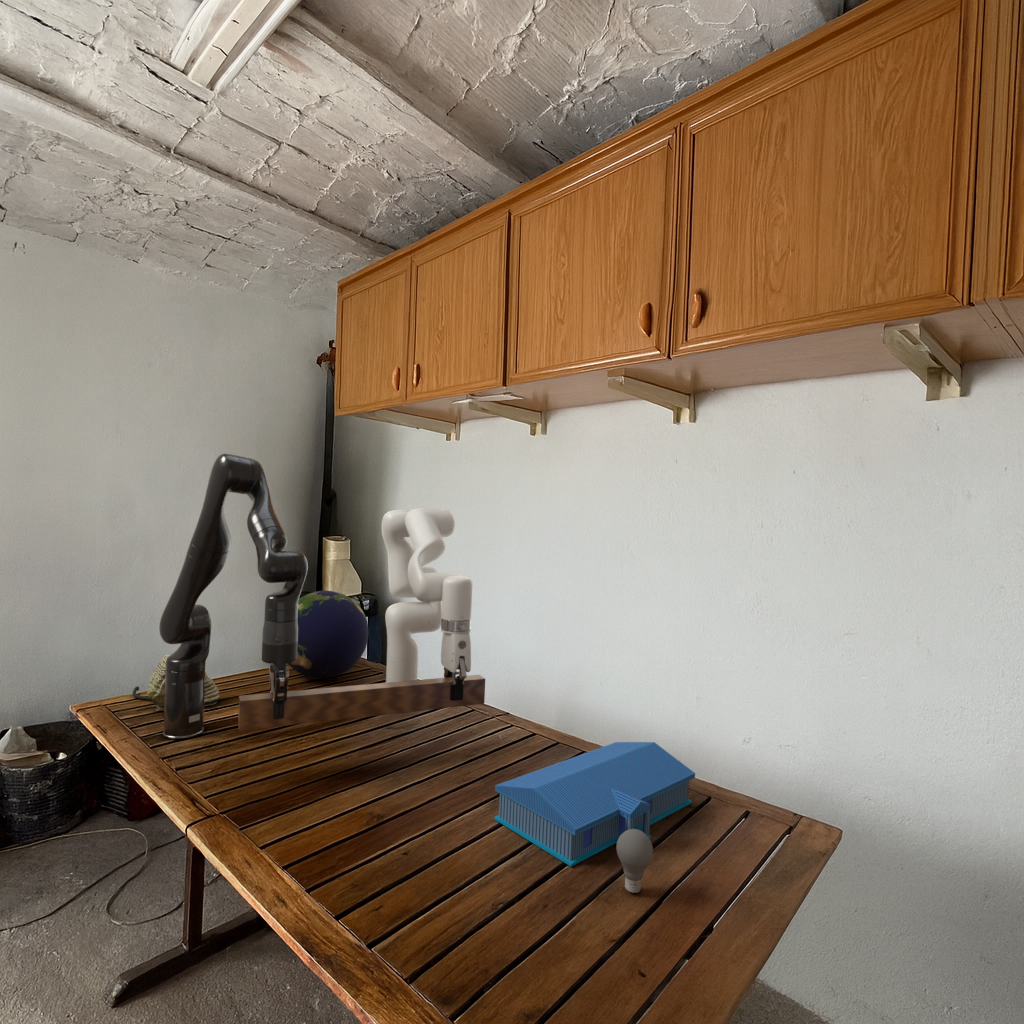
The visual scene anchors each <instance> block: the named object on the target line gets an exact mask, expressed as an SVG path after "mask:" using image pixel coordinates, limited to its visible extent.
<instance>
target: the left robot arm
mask: <svg viewBox="0 0 1024 1024" xmlns="http://www.w3.org/2000/svg"><path fill="white" fill-rule="evenodd" d="M211 467H212V468H211V471H210V475H209V478H208V482H207V485H206V491H205V496H204V500H203V504H202V506H201V512H200V514H199V517H198V519H197V523H196V526H195V529H194V532H193V534H192V537H191V540H190V542H189V545H188V548H187V551H186V555H185V558H184V561H183V563H182V567H181V570H180V572H179V575H178V578H177V581H176V583H175V586H174V587H173V590H172V593H171V595H170V597H169V598H168V601H167V603H166V605H165V608H164V609H163V611H162V613H161V617H160V619H159V625H158V626H159V629H158V630H159V636H160V638H161V640H162V641H163V642H164V643H166V644H168V645H179V647H178V648H177V649H176V650H175V651H174V652H173V653H170V654H169V655H170V656H169V657H168V658H167V660H166V674H165V705H164V710H163V731H162V737H164V738H166V739H169V740H185V739H190V738H191V739H192V738H194V737H197V736H199V735H202V734H203V732H204V730H205V729H204V722H205V721H204V718H205V706H204V693H205V672H206V664H207V663H206V662H207V659H208V657H209V653H210V647H211V636H212V617H211V614H210V612H209V610H208V609H207V607H206V606H205V605H202V604H196V603H197V602H198V600H199V598H200V596H201V595H202V594H203V592H204V591H205V590H206V589H207V588H208V587H209V586H210V584H211V583H213V581H214V580H215V579H216V578H217V577H218V576H219V574H220V573H221V572H222V571H223V569H224V566H225V564H226V562H227V559H228V556H229V553H230V550H231V548H232V547H231V546H232V536H231V533H230V529H229V526H228V524H227V520H226V517H225V509H224V508H225V502H226V498H227V495H228V493H235V494H240V495H247V497H248V498H249V500H250V501H251V503H252V505H251V507H250V510H249V513H248V515H247V518H246V526H247V530H248V533H249V535H250V537H251V540H252V542H253V544H254V546H255V551H256V558H257V562H256V563H257V564H256V565H257V573H258V576H259V578H260V579H261V580H263V581H264V582H265V583H268V584H279V583H284V584H283V586H282V588H281V589H280V590H278V591H274V592H271V593H269V594H268V595H266V597H265V600H264V620H263V626H262V641H261V661H262V662H263V663H265V664H269V668H268V676H269V679H268V681H269V683H268V685H269V690H270V692H269V693H273V702H274V707H273V718H274V719H283V718H284V702H285V701H286V700H287V692H288V691H289V690H288V689H289V680H290V669H289V667H288V666H287V665H288V663H289V662H293V661H295V660H296V659H297V648H298V622H297V618H298V601H299V599H300V598H301V597H300V596H301V594H302V590H303V587H304V583H305V582H306V581H305V580H306V577H307V574H308V571H309V570H308V568H309V565H308V559H307V557H306V555H305V554H304V553H303V552H302V551H300V550H284V549H285V548H286V547H287V544H288V538H287V535H286V532H285V531H284V529H283V526H282V525H281V523H280V520H279V519H278V516H277V514H276V511H275V509H274V505H273V502H272V497H271V492H270V489H269V484H268V481H267V478H266V474H265V470H264V468H263V466H262V464H261V463H260V462H259V461H258V460H256V459H254V458H250V457H246V456H241V455H236V454H231V453H221V454H220V455H219V456H217V457H216V459H215V461H214V462H213V464H212V466H211ZM138 691H140V686H138V685H136V686H135V687H134V688H133V691H132V697H134V698H136V699H140V700H145V701H152V700H151V699H150V698H149V697H148V695H147V696H146V695H139V694H137V692H138ZM279 693H283V696H277V695H278V694H279Z"/></svg>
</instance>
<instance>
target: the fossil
mask: <svg viewBox="0 0 1024 1024" xmlns="http://www.w3.org/2000/svg"><path fill="white" fill-rule="evenodd" d="M170 655H171V654H165V655H164V656H163V657H162V658H161V659H160V660H159V662H158V663H157V666H156V667H155V669H154V670H153V672H152V675H151V677H150V680H149V684H148V688H147V697H149V698H150V699H151V700H150V701H152V703H153V704H154V706H155V711H158V712H159V711H162V712H163V711H164V705H165V674H166V660H167V658H168V657H169V656H170ZM220 698H221V696H220V690H219V688H218V686H217V685H216V683H215V682H214V681H213V679H212V678H211V677H209V675H208V674H207V672H206V671H205V693H204V707H207V706H213V705H215V704H217V703H218V701H219V699H220Z"/></svg>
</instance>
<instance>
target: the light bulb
mask: <svg viewBox="0 0 1024 1024" xmlns="http://www.w3.org/2000/svg"><path fill="white" fill-rule="evenodd" d="M615 849H616V854H617V857H618V859H619V861H620V863H621V865H622V867H623V873H624V874H623V875H624V876H625V878H624V888H625V890H627V891H628V892H630V893H634V894H635V893H639V892H640V891H641V889H642V887H641V886H642V879H643V877H644V875H645V871H646V868H647V867H648V866H649V864H650V863H651V861H652V859H653V855H654V847H653V843H652V841H651V839H649V838H648V836H647V835H646V834H645V833H644V832H642V830H641V831H640V830H637V829H629V830H627V831H625V832H623V833H622V834H621V835H620V837H619V839H618V841H617V844H616V847H615Z"/></svg>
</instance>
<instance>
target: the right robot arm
mask: <svg viewBox="0 0 1024 1024" xmlns="http://www.w3.org/2000/svg"><path fill="white" fill-rule="evenodd" d="M454 517H455V516H454V515H453V514H452V512H451V511H450V510H449V509H447V508H438V507H437V508H436V507H417V508H412V509H392V510H389V511H386V513H385V514H384V515H383V517H382V520H381V535H382V539H383V542H384V546H385V549H386V552H387V567H388V571H387V572H388V588H389V593H390V595H391V596H393V597H394V598H400V599H408V598H411V599H412V598H415V599H416V600H418V601H403V602H396V603H395V602H394V603H393V604H391V605H389V606H388V607H387V609H386V611H385V615H384V617H385V618H384V619H385V620H384V621H385V627H386V642H387V643H386V670H385V671H386V673H385V683H390V682H401V681H413V680H418V675H419V645H418V643H417V641H416V640H415V639H414V638H413V637H412V635H415V634H421V633H422V634H423V633H424V634H425V633H433V632H437V631H438V630H440V632H441V633H442V635H441V636H442V638H441V649H440V663H441V665H442V666H443V678H447V677H452V684H451V693H450V700H451V701H455V700H462V699H463V684H464V679H465V678H466V677H467V676H468V675H467V673H470V672H471V670H472V643H471V634H470V633H472V632H471V631H472V609H473V608H472V606H473V580H472V579H471V578H469V577H467V576H464V575H463V574H461V573H459V572H445V571H444V572H442V571H441V572H438V571H437V569H436V568H434V567H431V566H426V565H428V564H430V563H432V562H434V561H436V560H438V559H439V558H440V557H442V555H443V554H444V553H445V551H446V542H445V540H444V538H448V537H450V536H451V535H452V534H453V533H454V531H455V528H456V522H455V518H454ZM406 538H410V542H411V543H410V542H409V540H407V539H406ZM457 670H458V671H457Z"/></svg>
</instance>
